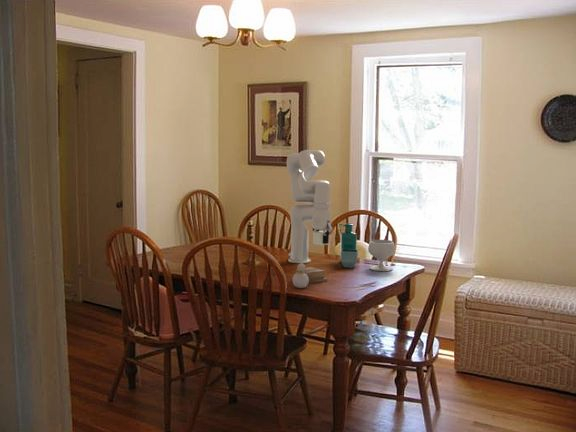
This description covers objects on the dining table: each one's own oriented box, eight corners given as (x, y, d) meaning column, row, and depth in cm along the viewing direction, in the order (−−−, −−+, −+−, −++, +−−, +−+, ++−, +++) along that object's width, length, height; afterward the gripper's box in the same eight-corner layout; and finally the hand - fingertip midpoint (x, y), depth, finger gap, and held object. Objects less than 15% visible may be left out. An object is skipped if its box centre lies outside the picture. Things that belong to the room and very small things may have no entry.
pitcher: (355, 261, 347) (356, 222, 345) (356, 264, 339) (357, 224, 336) (337, 260, 347) (338, 222, 345) (338, 263, 339) (339, 224, 336)
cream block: (312, 243, 306) (313, 231, 305) (322, 242, 310) (322, 230, 309) (320, 245, 301) (320, 233, 301) (329, 244, 305) (330, 232, 304)
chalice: (386, 266, 334) (387, 238, 332) (399, 271, 321) (400, 242, 319) (363, 267, 330) (363, 239, 328) (374, 272, 316) (375, 243, 315)
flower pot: (356, 268, 326) (357, 252, 325) (340, 268, 327) (340, 251, 326) (358, 265, 334) (358, 249, 333) (341, 264, 336) (342, 248, 335)
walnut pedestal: (292, 279, 298) (292, 269, 298) (311, 276, 305) (312, 266, 305) (307, 284, 289) (307, 273, 288) (327, 281, 295) (327, 270, 295)
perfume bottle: (304, 285, 286) (304, 259, 285) (313, 289, 278) (314, 263, 276) (289, 286, 283) (289, 260, 282) (298, 291, 275) (299, 264, 273)
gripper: (305, 205, 308) (304, 241, 310) (327, 208, 294) (326, 245, 296) (316, 204, 313) (316, 239, 314) (339, 207, 299) (338, 244, 301)
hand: (321, 242), depth 305 cm, fingers closed on cream block, 6 cm apart
